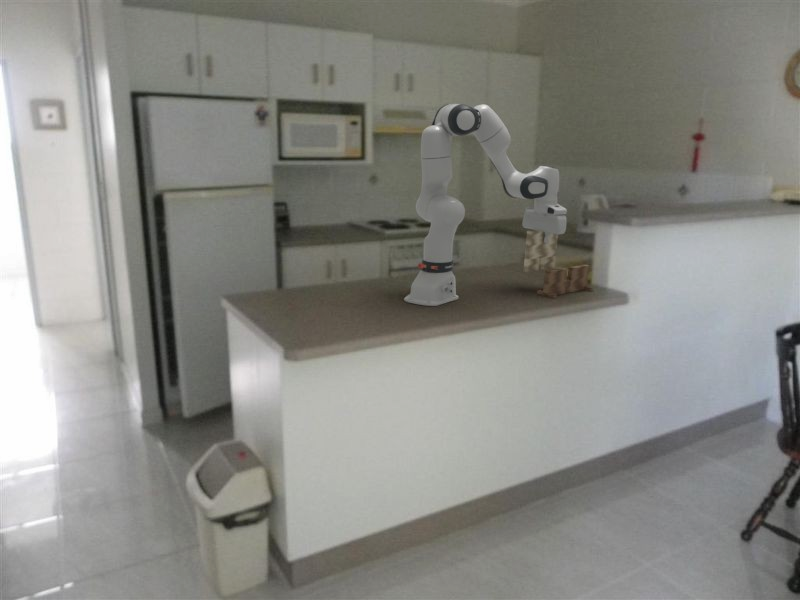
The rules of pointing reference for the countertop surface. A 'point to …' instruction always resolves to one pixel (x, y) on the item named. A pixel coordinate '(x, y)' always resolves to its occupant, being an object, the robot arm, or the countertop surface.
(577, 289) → the wooden block row
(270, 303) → the countertop surface
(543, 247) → the birch plate
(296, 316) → the countertop surface
